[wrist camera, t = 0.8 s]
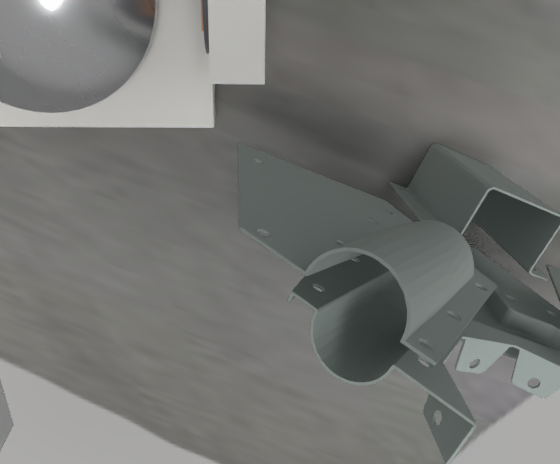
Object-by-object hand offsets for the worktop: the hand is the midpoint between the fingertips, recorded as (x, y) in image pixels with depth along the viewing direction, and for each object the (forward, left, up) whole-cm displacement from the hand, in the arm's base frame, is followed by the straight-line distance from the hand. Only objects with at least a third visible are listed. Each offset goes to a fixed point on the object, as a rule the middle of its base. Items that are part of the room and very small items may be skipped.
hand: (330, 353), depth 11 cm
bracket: (+6, +11, -23) cm, 26 cm away
